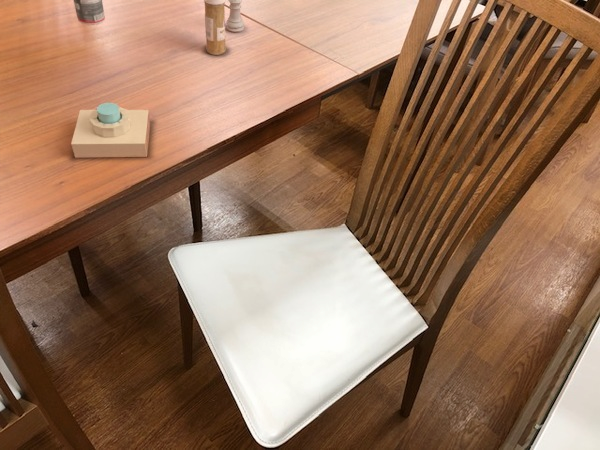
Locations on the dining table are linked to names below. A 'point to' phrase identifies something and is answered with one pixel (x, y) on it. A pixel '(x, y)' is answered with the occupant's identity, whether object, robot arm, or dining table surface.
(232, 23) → the rook chess piece
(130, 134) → the button base
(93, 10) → the pill bottle
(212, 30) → the sprinkles bottle
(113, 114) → the teal button cap
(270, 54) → the dining table surface
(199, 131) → the dining table surface
